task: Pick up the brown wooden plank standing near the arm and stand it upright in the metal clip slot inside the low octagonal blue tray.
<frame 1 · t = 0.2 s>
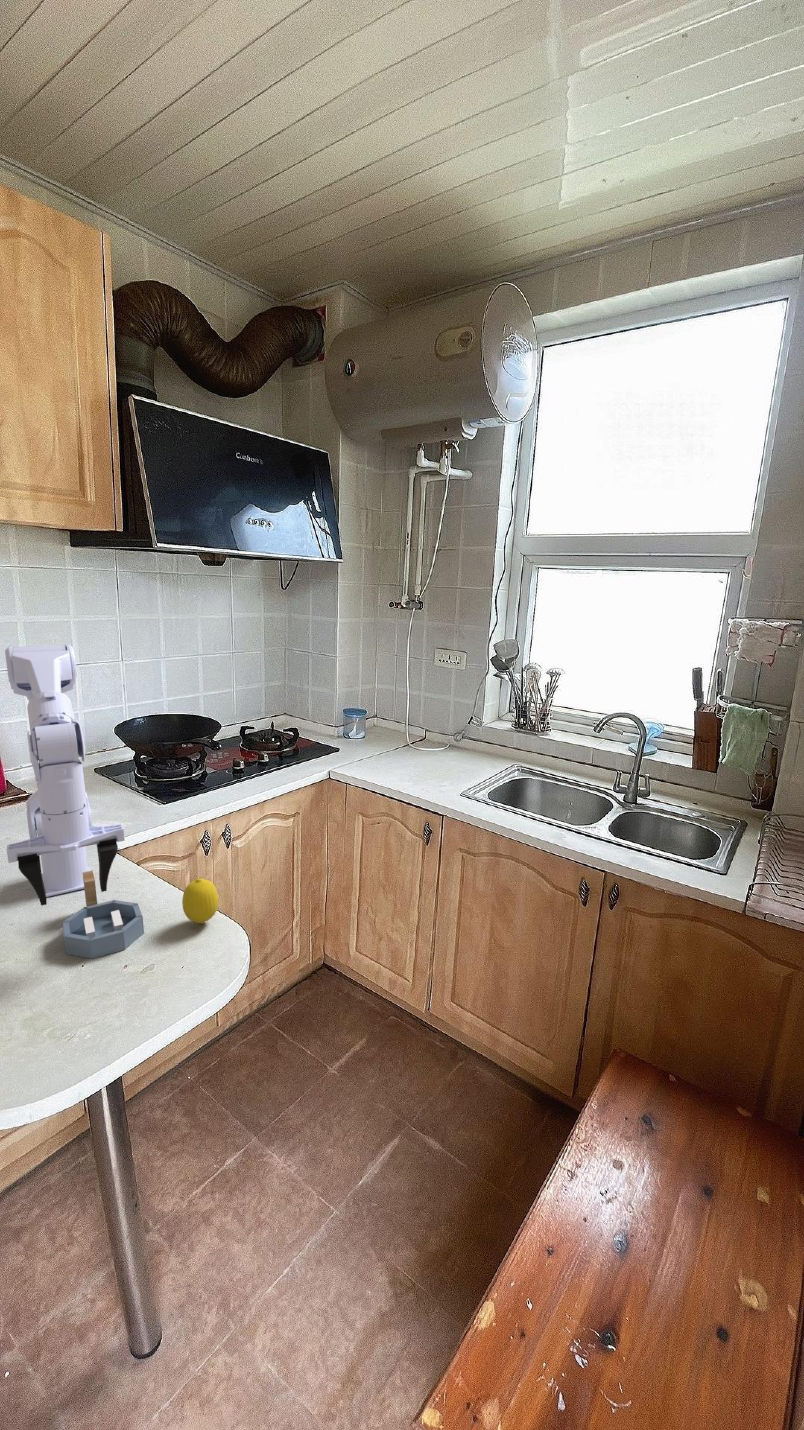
hand: (74, 895, 88), 10 cm above the table, tool pointing down, fingers open, 7 cm apart
lemon: (202, 924, 99), on the table
brown wooden plank: (92, 914, 101), on the table
octagonal blue tray: (104, 936, 95), on the table
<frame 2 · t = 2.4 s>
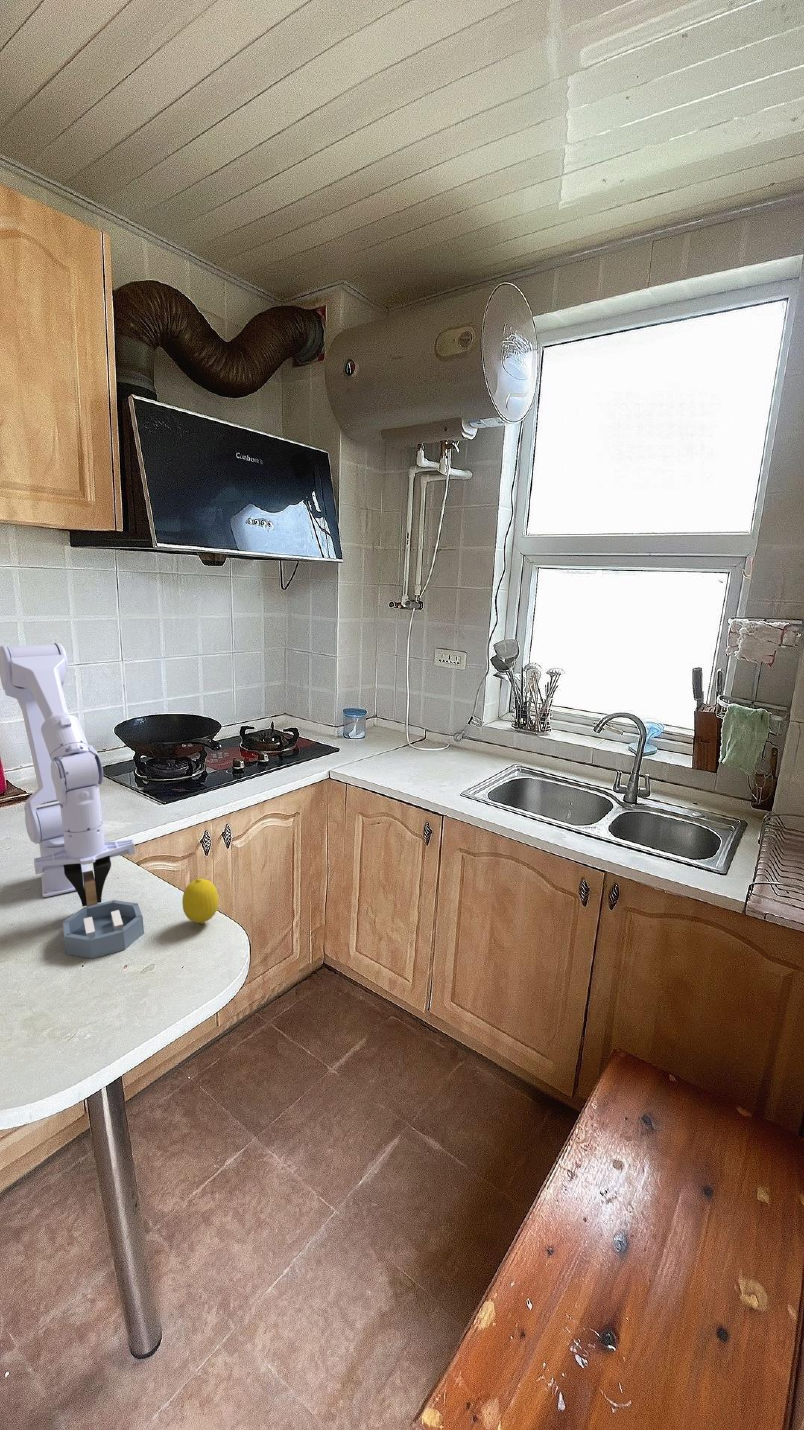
hand: (91, 901, 100), 2 cm above the table, tool pointing down, fingers closed on brown wooden plank, 1 cm apart
brown wooden plank: (92, 914, 101), on the table, touching gripper
everything else where it was.
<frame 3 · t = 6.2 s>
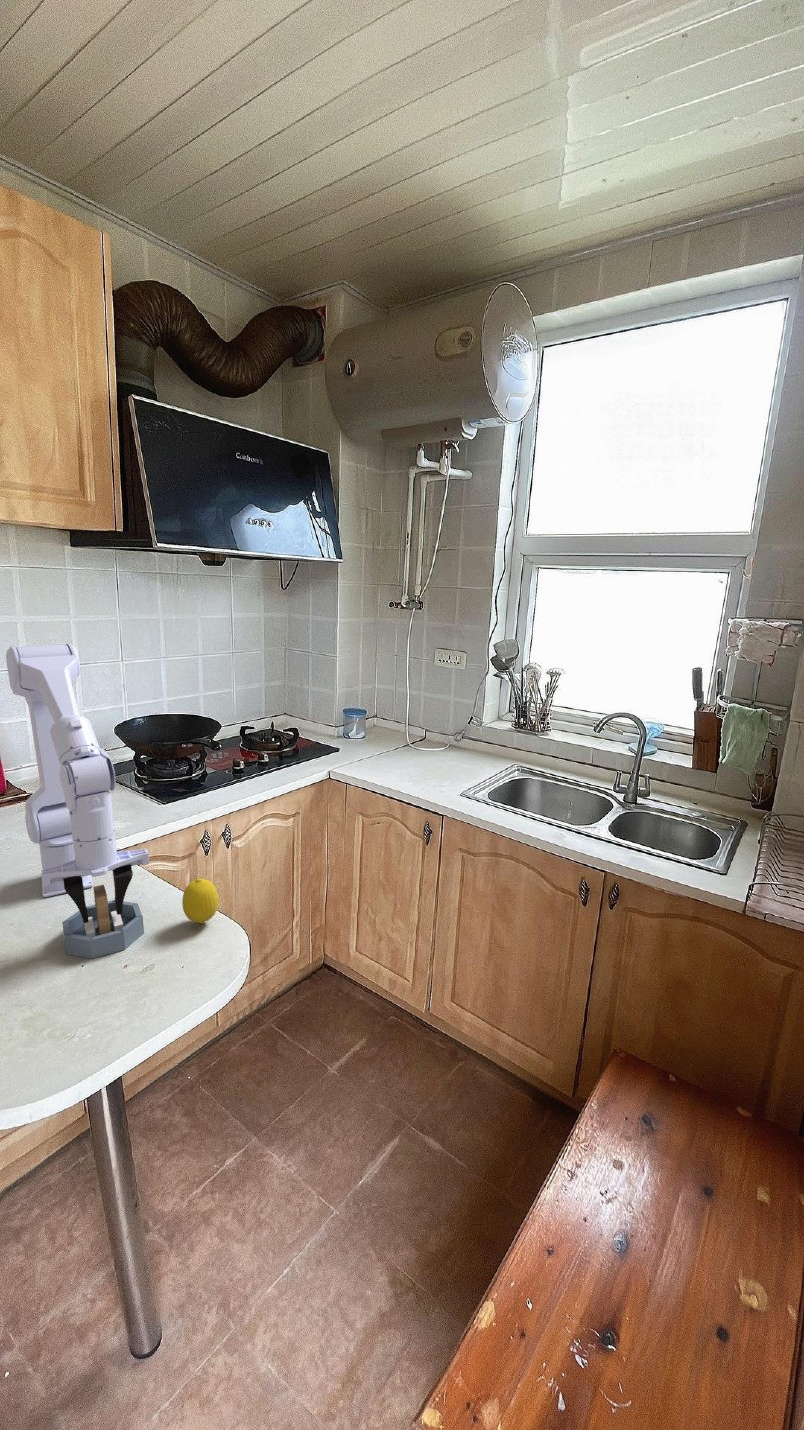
hand: (102, 915, 94), 4 cm above the table, tool pointing down, fingers open, 4 cm apart
brown wooden plank: (104, 931, 94), point 1 cm above the table, touching octagonal blue tray
everything else where it was.
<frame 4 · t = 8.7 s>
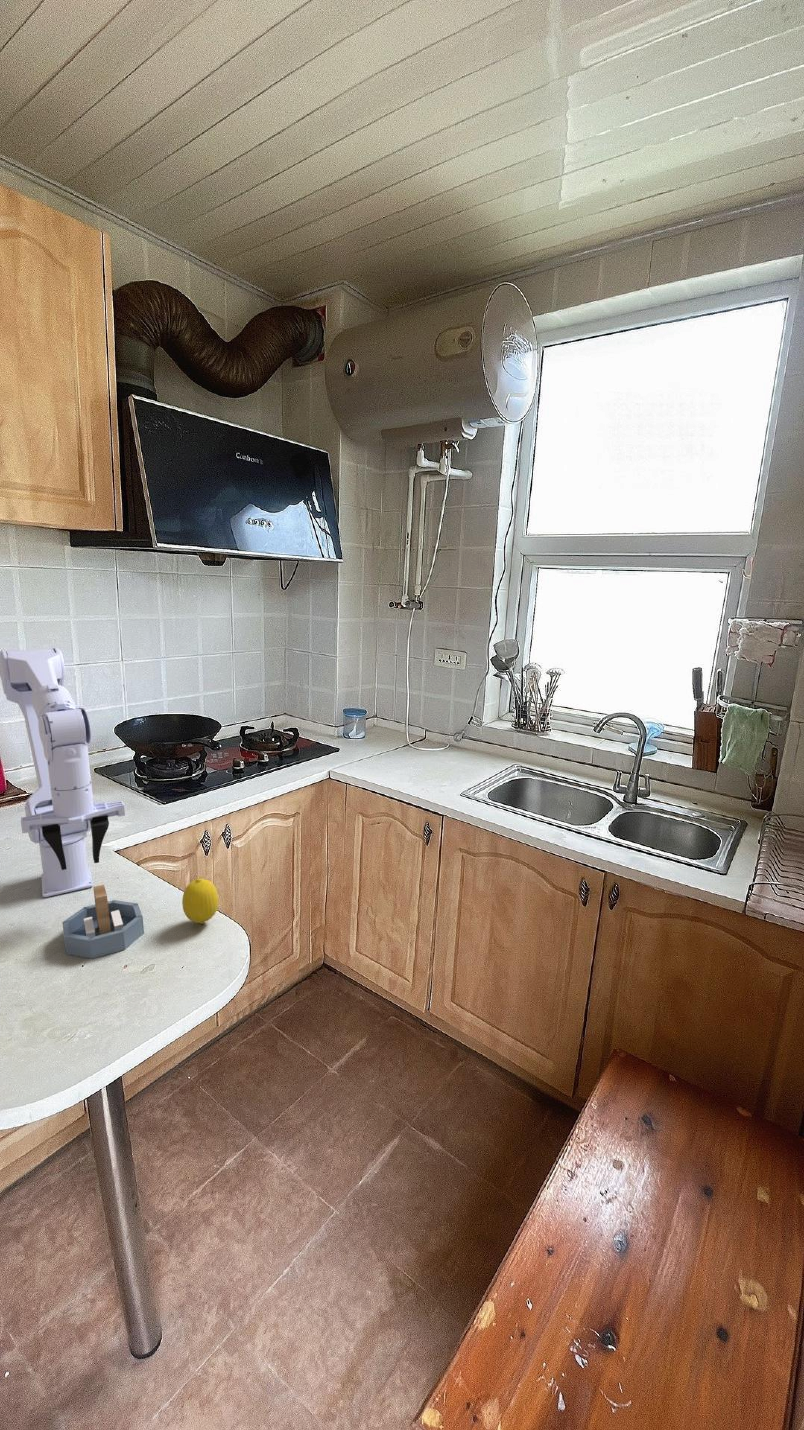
hand: (80, 863, 98), 9 cm above the table, tool pointing down, fingers open, 4 cm apart
nothing on the table moved.
at the end: brown wooden plank 0.1 cm off-centre on the octagonal blue tray, point 0.8 cm above the octagonal blue tray's base; brown wooden plank tilted 0°; the gripper is holding nothing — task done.
